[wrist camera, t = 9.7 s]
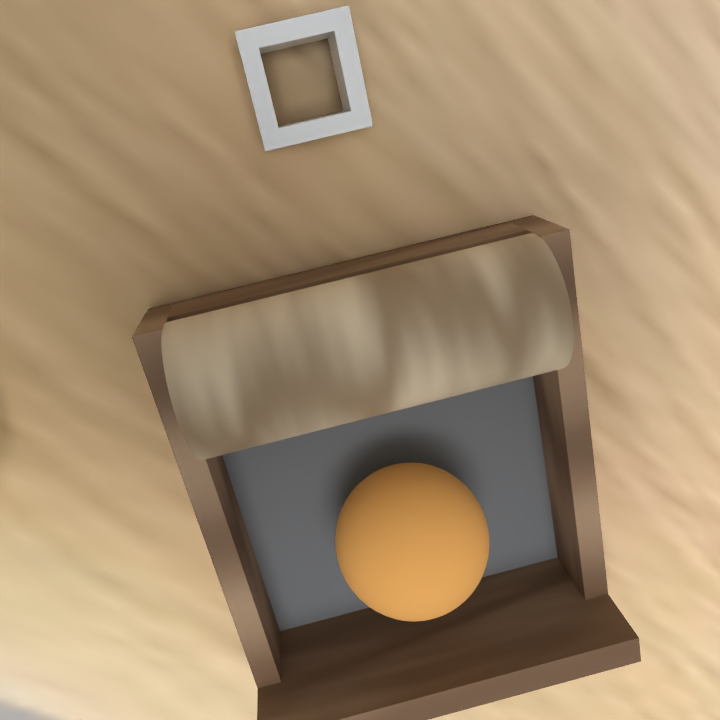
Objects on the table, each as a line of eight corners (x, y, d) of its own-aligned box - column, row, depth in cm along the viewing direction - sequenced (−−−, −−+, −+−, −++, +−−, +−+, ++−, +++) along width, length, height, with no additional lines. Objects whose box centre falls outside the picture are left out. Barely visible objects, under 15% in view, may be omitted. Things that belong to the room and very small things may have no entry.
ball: (360, 669, 24) (352, 602, 30) (524, 624, 24) (484, 567, 30) (318, 504, 24) (319, 469, 30) (485, 461, 24) (453, 435, 30)
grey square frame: (237, 39, 23) (234, 31, 21) (340, 15, 24) (348, 5, 21) (265, 147, 25) (265, 151, 22) (363, 124, 25) (373, 126, 23)
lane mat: (148, 309, 26) (146, 312, 26) (533, 215, 27) (537, 216, 26) (265, 650, 32) (265, 657, 32) (577, 567, 33) (581, 572, 32)
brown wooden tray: (148, 309, 26) (115, 363, 21) (533, 215, 27) (603, 243, 21) (265, 650, 32) (265, 764, 27) (577, 567, 33) (640, 661, 27)
